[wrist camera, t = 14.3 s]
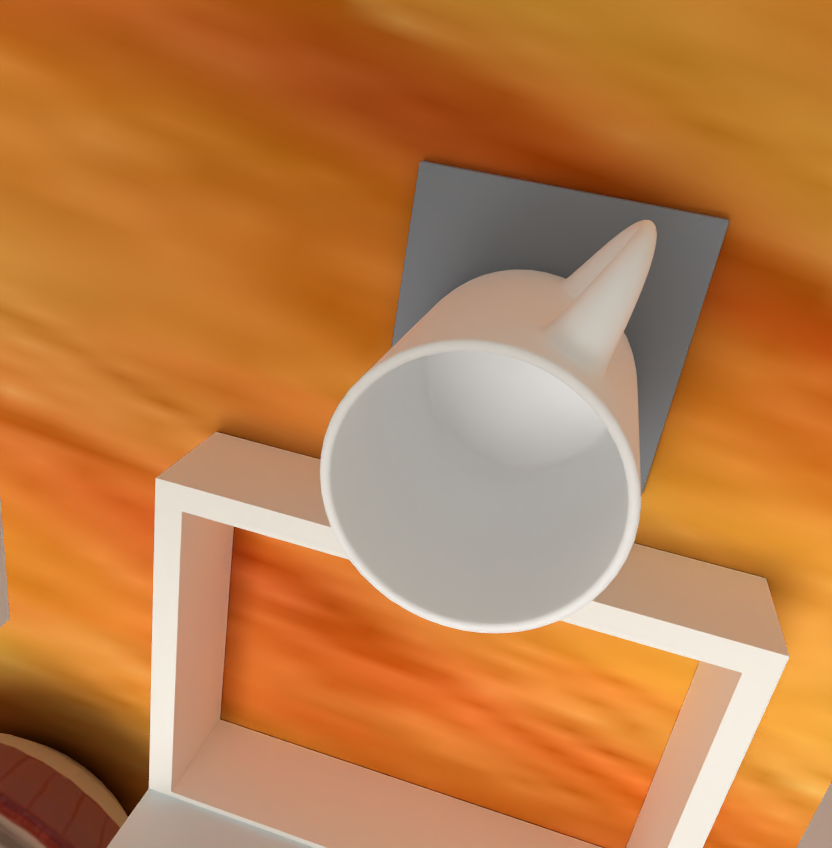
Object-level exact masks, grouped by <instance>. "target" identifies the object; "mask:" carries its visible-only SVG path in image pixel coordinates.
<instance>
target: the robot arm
mask: <svg viewBox="0 0 832 848" xmlns="http://www.w3.org/2000/svg"><path fill="white" fill-rule="evenodd" d="M9 619H10V616H9V603H8V590H7V578H6V565H5V552H4V539H3V526H2V514H1V501H0V627H1V626H2V625H3V624H5V623H6V622H7V621H8V620H9ZM797 848H832V782H831V784H830V786H829V788H828V790H827V792H826V793H825V795H824V797H823V799H822V801H821V803H820V805H819V807H818V808H817V810H816V812H815V814H814V816H813V818H812V820H811V822H810V823H809V825H808V827H807V829H806V831H805V833H804V835H803V837H802V838H801V840H800V842H799V844H798V846H797Z"/></svg>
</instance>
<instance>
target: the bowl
mask: <svg viewBox="0 0 832 848" xmlns="http://www.w3.org/2000/svg"><path fill="white" fill-rule="evenodd" d="M127 818H128V816H127V814H126V812H125V811H124V809H123V808H122V806H121V805H120V803H119V802H118V800H117V799H116V797H115V796H114V795H113V794H112V793H111V792H110V790H109V789H108V788H107V787H106V786H105V785H104V784H103V783H102V782H101V781H100V780H99V779H98V778H97V777H96V776H95V775H93V774H92V773H91V772H90V771H89V770H87V769H86V768H85V767H84V766H82V765H81V764H79V763H78V762H76V761H75V760H73V759H72V758H70V757H69V756H67V755H65V754H63V753H61V752H59V751H57V750H55V749H53V748H51V747H48V746H45V745H42V744H39V743H36V742H33V741H30V740H27V739H23V738H20V737H16V736H13V735H10V734H3V733H0V848H107V846H108V845H109V844H110V842H111V841H112V839H113V838H114V837H115V835H116V834H117V832H118V831H119V829H120V828H121V827H122V825H123V824H124V822H125V821H126V820H127Z"/></svg>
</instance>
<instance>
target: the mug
mask: <svg viewBox="0 0 832 848" xmlns="http://www.w3.org/2000/svg"><path fill="white" fill-rule="evenodd" d="M656 239H657V231H656V226H655V224H654V223H653V222H652V221H650V220H642V221H639V222H636V223H635V224H633V225H631V226H629V227H628V228H626V229H625V230H623V231H622V232H621V233H619V234H618V235H617V236H615V237H614V238H613V239H612V240H610V241H609V242H608V243H607V244H606V245H604V246H603V247H602V248H601V249H600V250H599V251H598V252H596V253H595V254H594V255H593V256H592V257H591V258H590V259H589V260H587V261H586V262H585V263H584V264H583V265H582V266H581V267H580V268H578V269H577V270H576V271H575V272H574V273H573V274H572V275H571V276H569V277H568V278H567V279H565V278H563V277H560V276H557V275H553V274H550V273H547V272H541V271H535V270H518V269H513V270H505V271H497V272H493V273H489V274H485V275H482V276H480V277H477V278H475V279H472V280H470V281H468V282H466V283H465V284H463V285H461V286H459V287H457V288H456V289H454V290H453V291H452V292H450V293H449V294H448V295H446V296H445V297H444V298H442V299H441V300H440V301H439V302H438V303H437V304H436V305H435V306H434V307H433V308H432V309H431V310H430V311H429V312H428V313H427V314H426V315H425V316H424V317H423V318H422V319H421V320H420V321H419V322H417V323H416V324H415V325H414V326H413V327H412V328H411V329H410V330H409V331H408V332H407V333H406V334H405V335H404V336H403V337H402V338H401V339H400V340H399V341H398V342H397V343H396V344H395V345H394V346H393V347H392V348H391V349H390V350H389V351H388V352H387V353H386V354H385V355H384V356H383V357H382V358H381V359H380V360H379V361H378V362H376V363H375V364H374V365H373V366H372V367H371V368H370V369H369V370H368V371H367V372H366V373H365V374H364V375H363V376H362V377H361V378H360V379H359V380H358V381H357V382H356V383H355V384H354V385H353V386H352V387H351V388H350V390H349V391H348V392H347V394H346V395H345V396H344V398H343V399H342V400H341V402H340V403H339V405H338V407H337V409H336V411H335V412H334V414H333V416H332V418H331V420H330V423H329V426H328V429H327V431H326V434H325V437H324V442H323V447H322V452H321V462H320V482H321V493H322V498H323V502H324V507H325V511H326V514H327V517H328V520H329V523H330V526H331V528H332V530H333V532H334V534H335V536H336V538H337V540H338V543H339V545H340V546H341V548H342V549H343V551H344V552H345V554H346V555H347V557H348V558H349V560H350V561H351V562H352V564H353V565H354V566H355V567H356V568H357V570H358V571H359V572H360V573H361V575H362V576H363V577H365V578H366V579H367V580H368V581H369V582H370V583H371V584H372V585H373V586H374V587H375V588H376V589H377V590H378V591H380V592H381V593H382V594H384V595H385V596H386V597H387V598H389V599H390V600H391V601H393V602H395V603H396V604H398V605H399V606H401V607H403V608H404V609H406V610H407V611H410V612H412V613H414V614H416V615H418V616H420V617H422V618H424V619H427V620H429V621H432V622H435V623H438V624H440V625H443V626H447V627H451V628H455V629H459V630H464V631H472V632H479V633H509V632H520V631H525V630H530V629H535V628H539V627H542V626H545V625H548V624H551V623H554V622H557V621H559V620H561V619H563V618H565V617H567V616H569V615H571V614H573V613H575V612H576V611H578V610H579V609H581V608H582V607H584V606H585V605H587V604H588V603H590V602H591V601H592V600H593V599H594V598H595V597H597V596H598V595H599V594H600V593H601V592H602V591H603V590H604V589H605V588H606V587H607V586H608V585H609V584H610V582H611V581H612V580H613V579H614V578H615V577H616V575H617V574H618V572H619V571H620V569H621V568H622V566H623V564H624V563H625V561H626V559H627V557H628V555H629V553H630V550H631V548H632V546H633V543H634V541H635V537H636V533H637V529H638V525H639V521H640V510H641V478H640V448H639V418H638V389H637V373H636V367H635V362H634V357H633V353H632V350H631V347H630V345H629V342H628V339H627V337H626V335H625V333H624V330H625V328H626V326H627V323H628V321H629V319H630V317H631V314H632V312H633V310H634V308H635V305H636V303H637V300H638V298H639V296H640V293H641V291H642V288H643V286H644V283H645V280H646V277H647V275H648V272H649V269H650V266H651V262H652V259H653V256H654V251H655V246H656Z"/></svg>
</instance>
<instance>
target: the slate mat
mask: <svg viewBox="0 0 832 848" xmlns="http://www.w3.org/2000/svg"><path fill="white" fill-rule="evenodd" d="M642 220H650V221H652V222H653V223H654V224H655V226H656V231H657V239H656V246H655V251H654V256H653V259H652V262H651V266H650V269H649V272H648V275H647V277H646V280H645V283H644V286H643V288H642V291H641V293H640V296H639V298H638V300H637V303H636V305H635V308H634V310H633V312H632V314H631V317H630V319H629V321H628V323H627V326H626V328H625V330H624V333H625V335H626V337H627V339H628V342H629V345H630V347H631V350H632V353H633V357H634V362H635V367H636V373H637V389H638V418H639V448H640V478H641V496H642V493H643V490H644V487H645V484H646V480H647V477H648V474H649V471H650V468H651V465H652V462H653V459H654V455H655V452H656V449H657V446H658V443H659V440H660V437H661V433H662V430H663V427H664V424H665V421H666V418H667V415H668V412H669V408H670V405H671V402H672V399H673V396H674V393H675V390H676V387H677V383H678V380H679V377H680V374H681V371H682V368H683V365H684V361H685V358H686V355H687V352H688V349H689V346H690V343H691V340H692V336H693V333H694V330H695V327H696V324H697V321H698V318H699V315H700V311H701V308H702V305H703V302H704V299H705V296H706V293H707V289H708V286H709V283H710V280H711V277H712V274H713V271H714V268H715V264H716V261H717V258H718V255H719V252H720V249H721V246H722V242H723V239H724V236H725V233H726V230H727V227H728V224H729V220H728V219H725V218H720V217H715V216H710V215H705V214H699V213H694V212H689V211H684V210H679V209H673V208H668V207H663V206H658V205H653V204H647V203H642V202H637V201H632V200H626V199H621V198H616V197H611V196H606V195H600V194H595V193H590V192H585V191H580V190H574V189H569V188H564V187H559V186H554V185H548V184H543V183H538V182H533V181H527V180H522V179H517V178H512V177H507V176H501V175H496V174H491V173H486V172H481V171H475V170H470V169H465V168H460V167H454V166H449V165H444V164H439V163H434V162H428V161H420V163H419V170H418V176H417V183H416V189H415V196H414V202H413V209H412V215H411V222H410V229H409V235H408V242H407V248H406V255H405V261H404V268H403V275H402V281H401V288H400V294H399V301H398V307H397V314H396V320H395V327H394V334H393V340H392V347H393V346H394V345H395V344H396V343H397V342H398V341H399V340H400V339H401V338H402V337H403V336H404V335H405V334H406V333H407V332H408V331H409V330H410V329H411V328H412V327H413V326H414V325H415V324H416V323H417V322H419V321H420V320H421V319H422V318H423V317H424V316H425V315H426V314H427V313H428V312H429V311H430V310H431V309H432V308H433V307H434V306H435V305H436V304H437V303H438V302H439V301H440V300H441V299H442V298H444V297H445V296H446V295H448V294H449V293H450V292H452V291H453V290H454V289H456V288H457V287H459V286H461V285H463V284H465V283H466V282H468V281H470V280H472V279H475V278H477V277H480V276H482V275H485V274H489V273H493V272H497V271H505V270H513V269H518V270H535V271H541V272H547V273H550V274H553V275H557V276H560V277H563V278H565V279H567V278H568V277H569V276H571V275H572V274H573V273H574V272H575V271H576V270H577V269H578V268H580V267H581V266H582V265H583V264H584V263H585V262H586V261H587V260H589V259H590V258H591V257H592V256H593V255H594V254H595V253H596V252H598V251H599V250H600V249H601V248H602V247H603V246H604V245H606V244H607V243H608V242H609V241H610V240H612V239H613V238H614V237H615V236H617V235H618V234H619V233H621V232H622V231H623V230H625V229H626V228H628V227H629V226H631V225H633V224H635V223H636V222H639V221H642ZM392 347H391V348H392Z"/></svg>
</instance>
